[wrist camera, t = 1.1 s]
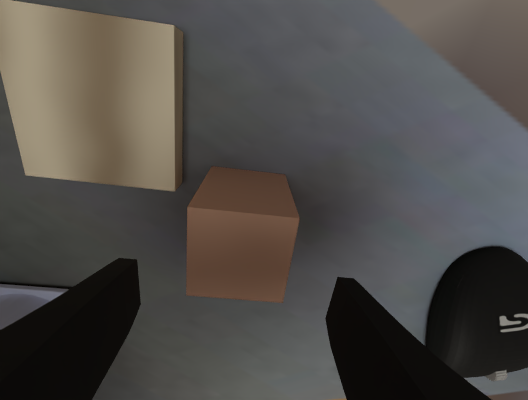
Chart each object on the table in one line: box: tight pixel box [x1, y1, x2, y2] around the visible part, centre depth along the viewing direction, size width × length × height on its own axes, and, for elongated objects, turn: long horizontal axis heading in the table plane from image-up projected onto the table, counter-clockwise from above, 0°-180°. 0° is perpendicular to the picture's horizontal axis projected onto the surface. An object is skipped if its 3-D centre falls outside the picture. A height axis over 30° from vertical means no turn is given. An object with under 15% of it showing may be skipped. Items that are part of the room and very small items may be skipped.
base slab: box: [0, 0, 183, 191], centre depth 14 cm, size 8×8×2 cm
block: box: [186, 166, 300, 303], centre depth 14 cm, size 4×4×6 cm
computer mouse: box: [426, 247, 528, 381], centre depth 19 cm, size 8×12×4 cm, turn 9°
